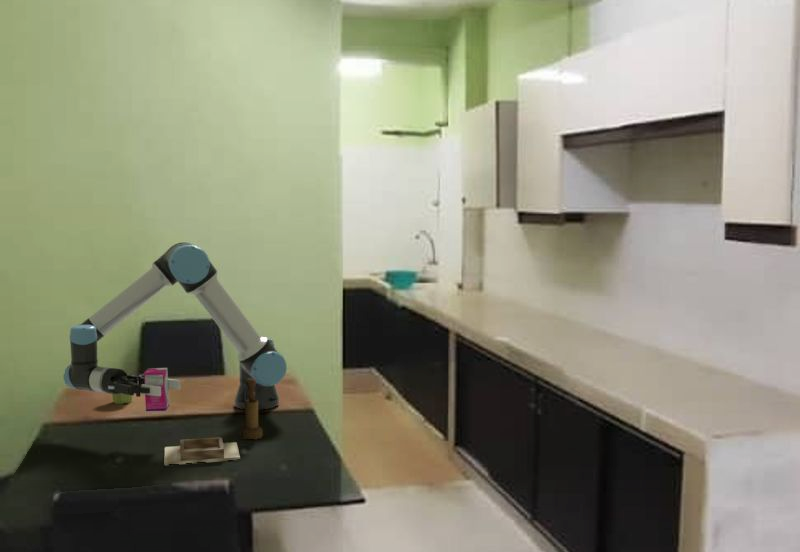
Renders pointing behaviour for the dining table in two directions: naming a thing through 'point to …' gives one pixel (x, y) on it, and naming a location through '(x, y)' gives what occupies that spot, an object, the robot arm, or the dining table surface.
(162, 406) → the supplement box
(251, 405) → the brown tall column piece
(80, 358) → the robot arm
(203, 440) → the dock
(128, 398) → the plant pot
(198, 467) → the dining table surface
